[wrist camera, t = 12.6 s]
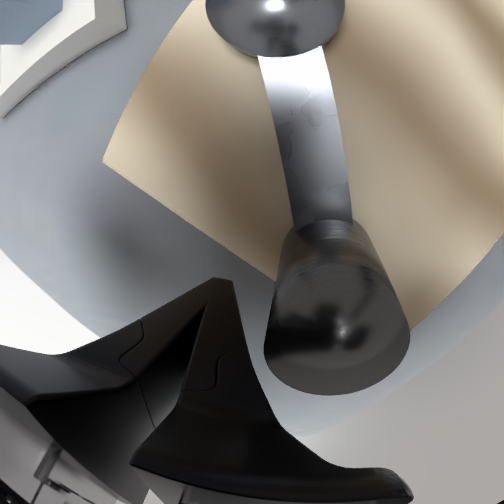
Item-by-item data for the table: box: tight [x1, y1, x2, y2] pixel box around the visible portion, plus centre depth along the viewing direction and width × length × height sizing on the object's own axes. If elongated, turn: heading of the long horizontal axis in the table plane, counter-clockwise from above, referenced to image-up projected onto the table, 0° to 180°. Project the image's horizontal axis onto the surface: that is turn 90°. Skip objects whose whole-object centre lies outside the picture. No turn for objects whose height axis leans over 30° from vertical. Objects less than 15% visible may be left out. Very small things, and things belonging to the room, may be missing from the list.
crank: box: [205, 0, 410, 395], centre depth 6 cm, size 14×4×5 cm, turn 12°
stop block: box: [0, 0, 63, 45], centre depth 5 cm, size 4×4×6 cm
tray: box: [0, 0, 127, 118], centre depth 7 cm, size 12×12×2 cm
